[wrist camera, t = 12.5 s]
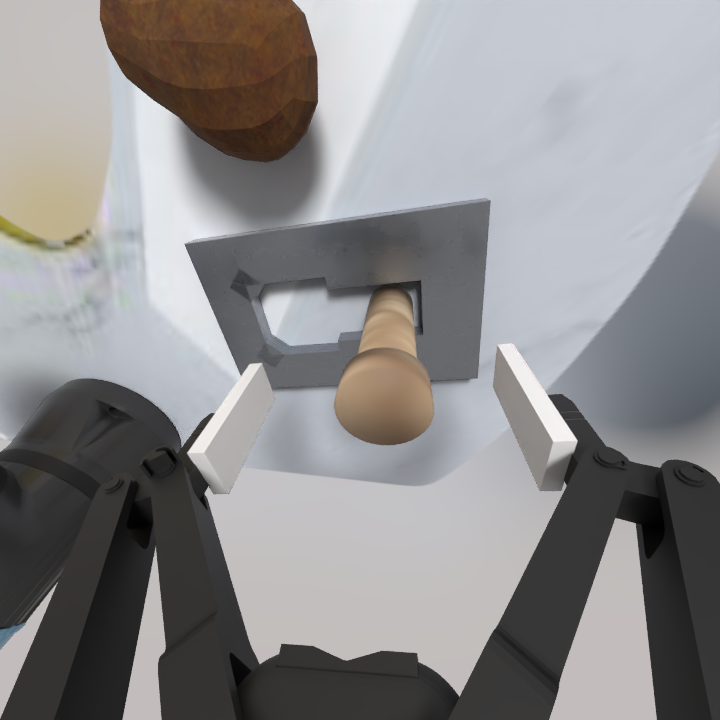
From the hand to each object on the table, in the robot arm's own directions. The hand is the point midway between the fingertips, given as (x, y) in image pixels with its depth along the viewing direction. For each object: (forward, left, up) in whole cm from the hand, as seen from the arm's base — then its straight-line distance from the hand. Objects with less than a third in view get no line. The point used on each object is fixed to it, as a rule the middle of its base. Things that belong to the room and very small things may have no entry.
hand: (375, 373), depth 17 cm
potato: (-6, +15, -10) cm, 19 cm away
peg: (+1, 0, -10) cm, 10 cm away
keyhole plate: (-3, 0, -10) cm, 11 cm away
